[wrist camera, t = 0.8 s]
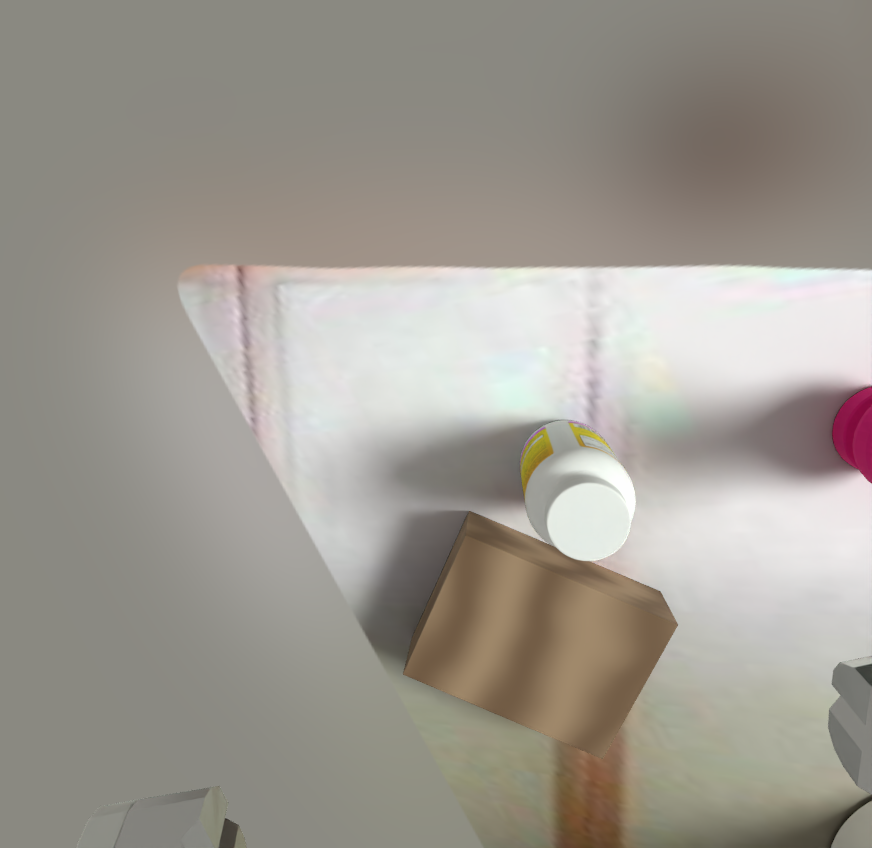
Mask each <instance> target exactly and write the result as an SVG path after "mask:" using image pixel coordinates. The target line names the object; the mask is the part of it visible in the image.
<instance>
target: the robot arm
mask: <svg viewBox="0 0 872 848" xmlns="http://www.w3.org/2000/svg"><path fill="white" fill-rule="evenodd" d="M832 685H833V687H834V688H835V689H836V690H837V691H838V693H839V694H840V695H841V696H840V697H839V698H838V699H837V701H836V702H835V703H834V704H833V705H832V706H831V708H830V709H829V722H828V729H829V732H830V736H831V739H832V743H833V746H834V749H835V751H836V753H837V755H838V757H839V759H840V761H841V763H842V765H843V767H844V768H845V770H846V771H847V772H848V774H849V775H850V777H851V778H852V779H853V781H854V782H855V784H856V785H857V786H858V787H860V788H861V789H863V790H865V791H867V792H868V793H870V794H872V656H868V657H863V658H858V659H854V660H849V661H844V662H840V663H839V664H838V665H837V666H836V668H835V669H834V670H833V678H832ZM227 806H228V802H227V799H226V798H225V796H224V794H223V792H222V790H221V788H220V787H219V786H218V787H210V788H204V789H198V790H192V791H186V792H180V793H174V794H168V795H162V796H156V797H150V798H144V799H138V800H133V801H128V802H122V803H116V804H111V805H106V806H100V807H99V808H98V809H97V810H96V811H95V812H94V813H93V815H92V816H91V817H90V818H89V820H88V821H87V823H86V825H85V828H84V830H83V833H82V835H81V837H80V840H79V842H78V844H77V846H76V848H246V843H245V839H244V836H243V833H242V831H241V829H240V827H239V825H238V824H236V823H234V822H232V821H230V820H229V819H227V818H225V815H226V811H227ZM831 848H872V801H870V802H869V803H867V804H865V805H864V806H862V807H861V808H860V809H858V810H857V811H856V812H855V813H854V814H853V815H851V816H850V817H849V818H848V820H847V821H846V822H845V823H844V824H843V826H842V827H841V828H840V830H839V831H838V833H837V835H836V837H835V839H834V841H833V843H832V846H831Z"/></svg>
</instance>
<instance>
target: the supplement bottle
mask: <svg viewBox="0 0 872 848" xmlns="http://www.w3.org/2000/svg"><path fill="white" fill-rule="evenodd" d="M520 473H521V480H522V487H523V493H524V500H525V507H526V511H527V515H528V518H529V520H530V523H531V525H532V526H533V528H534V529H535V531H536V532H537V533H538V535H539V536H540V537H541V538H542V539H543V540H545V541H546V542H547V543H549V544H550V545H552V546H554V547H556V548H557V549H558V550H559V551H560V552H562V553H563V554H565V555H566V556H568V557H570V558H573V559H576V560H581V561H595V560H600V559H603V558H606V557H608V556H610V555H611V554H613V553H614V552H616V551H617V550H618V549H619V548H620V547H621V546H622V545H623V543H624V542H625V540H626V539H627V536H628V534H629V531H630V526H631V520H632V518H633V515H634V511H635V504H636V498H635V491H634V487H633V483H632V481H631V479H630V477H629V475H628V473H627V472H626V470H625V469H624V467H623V466H622V464H621V463H620V462H619V460H618V459H617V457H616V456H615V455H614V453H613V452H612V450H611V449H610V447H609V446H608V445H607V443H606V442H605V440H604V439H603V438H602V437H601V436H600V435H599V434H598V433H597V432H596V431H595V430H594V429H592V428H591V427H589V426H588V425H586V424H583V423H580V422H577V421H572V420H559V421H554V422H551V423H548V424H546V425H544V426H542V427H540V428H539V429H537V430H536V431H535V432H534V433H533V434H532V435H531V436H530V437H529V438H528V440H527V441H526V443H525V445H524V447H523V450H522V453H521V457H520Z"/></svg>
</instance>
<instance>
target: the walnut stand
mask: <svg viewBox="0 0 872 848" xmlns="http://www.w3.org/2000/svg"><path fill="white" fill-rule="evenodd" d="M677 626H678V624H677V622H676V620H675V618H674V616H673V614H672V612H671V610H670V609H669V607H668V605H667V603H666V601H665V599H664V597H663V595H662V593H661V592H660V591H658V590H656V589H653V588H651V587H649V586H646V585H644V584H641V583H639V582H637V581H634V580H632V579H630V578H627V577H625V576H622V575H620V574H618V573H615V572H613V571H611V570H608V569H606V568H604V567H601V566H599V565H596V564H594V563H592V562H589V561H581V560H576V559H573V558H570V557H568V556H566V555H565V554H563V553H562V552H560V551H559V550H558V549H557V548H556V547H554V546H551V545H549V544H547V543H544V542H542V541H540V540H537V539H535V538H533V537H530V536H528V535H525V534H523V533H521V532H518V531H516V530H514V529H511V528H509V527H506V526H504V525H502V524H499V523H497V522H495V521H492V520H490V519H488V518H485V517H483V516H480V515H478V514H476V513H473V512H471V511H469V512H468V514H467V516H466V519H465V521H464V523H463V525H462V528H461V530H460V532H459V534H458V537H457V539H456V541H455V543H454V545H453V548H452V550H451V552H450V554H449V557H448V559H447V561H446V563H445V566H444V568H443V570H442V572H441V574H440V577H439V579H438V581H437V583H436V586H435V588H434V590H433V592H432V594H431V597H430V599H429V601H428V603H427V606H426V608H425V610H424V612H423V615H422V617H421V619H420V621H419V623H418V626H417V628H416V630H415V632H414V635H413V637H412V640H411V644H410V648H409V652H408V656H407V660H406V664H405V668H404V672H403V675H406V676H408V677H410V678H413V679H415V680H417V681H420V682H422V683H424V684H427V685H429V686H432V687H434V688H436V689H439V690H441V691H443V692H446V693H448V694H450V695H453V696H455V697H457V698H460V699H462V700H465V701H467V702H469V703H472V704H474V705H476V706H479V707H481V708H483V709H486V710H488V711H490V712H493V713H495V714H498V715H500V716H502V717H505V718H507V719H509V720H512V721H514V722H516V723H519V724H521V725H523V726H526V727H528V728H531V729H533V730H535V731H538V732H540V733H542V734H545V735H547V736H549V737H552V738H554V739H557V740H559V741H561V742H564V743H566V744H568V745H571V746H573V747H575V748H578V749H580V750H582V751H585V752H587V753H590V754H592V755H594V756H597V757H599V758H601V759H603V758H604V756H605V754H606V752H607V751H608V749H609V747H610V745H611V743H612V742H613V740H614V738H615V736H616V735H617V733H618V731H619V729H620V727H621V726H622V724H623V722H624V720H625V718H626V717H627V715H628V713H629V711H630V710H631V708H632V706H633V704H634V702H635V701H636V699H637V697H638V695H639V694H640V692H641V690H642V688H643V686H644V685H645V683H646V681H647V679H648V677H649V676H650V674H651V672H652V670H653V669H654V667H655V665H656V663H657V661H658V660H659V658H660V656H661V654H662V653H663V651H664V649H665V647H666V645H667V644H668V642H669V640H670V638H671V636H672V635H673V633H674V631H675V629H676V628H677Z"/></svg>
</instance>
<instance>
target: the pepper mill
mask: <svg viewBox="0 0 872 848" xmlns="http://www.w3.org/2000/svg"><path fill="white" fill-rule="evenodd" d="M832 436H833V443H834V446H835V448H836V450H837V452H838V453H839V455H840V456H841V458H842V459H843V460H844V461H846V462H847V463H848V464H850V465H851V466H853V467H855V468H857V469H859V470H860V472H861V473H862V474H863V475H864V477H865V478H866V479H867V480H868V481H869V482H870V483H872V387H869V388H867V389H864V390H862V391H860V392H858V393H856V394H855V395H853V396H852V397H851V398H850V399H848V400H847V401H846V402H845V403H844V405H843V406H842V407H841V409H840V410H839V412H838V414H837V416H836V418H835V421H834V424H833V431H832Z"/></svg>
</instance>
